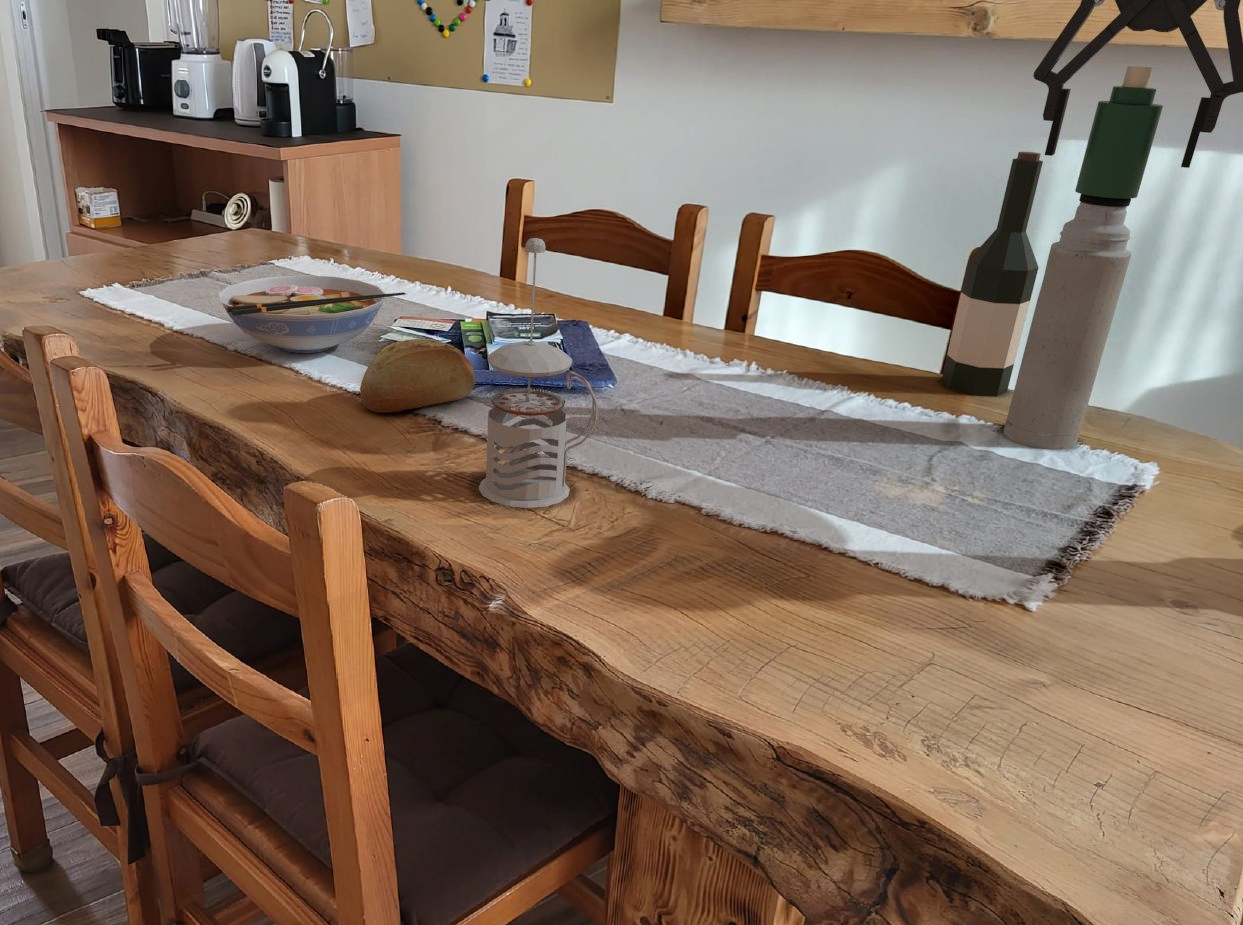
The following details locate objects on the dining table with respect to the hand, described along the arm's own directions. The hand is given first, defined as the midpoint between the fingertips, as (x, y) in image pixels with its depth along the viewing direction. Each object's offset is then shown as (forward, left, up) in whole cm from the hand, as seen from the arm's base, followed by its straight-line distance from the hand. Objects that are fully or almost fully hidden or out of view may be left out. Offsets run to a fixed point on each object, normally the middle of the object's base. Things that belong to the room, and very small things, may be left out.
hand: (1115, 160), depth 114 cm
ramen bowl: (+93, +22, -32) cm, 101 cm away
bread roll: (+66, +33, -32) cm, 80 cm away
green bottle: (0, 0, -3) cm, 3 cm away
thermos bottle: (0, 0, -32) cm, 32 cm away
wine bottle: (+10, -16, -32) cm, 37 cm away
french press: (+42, +48, -32) cm, 71 cm away
